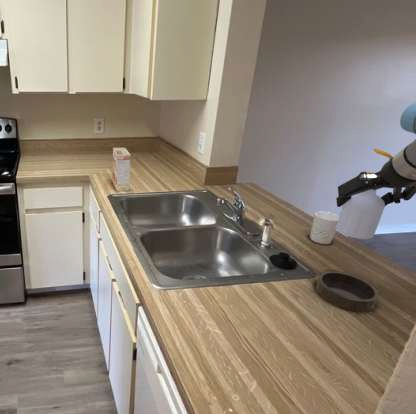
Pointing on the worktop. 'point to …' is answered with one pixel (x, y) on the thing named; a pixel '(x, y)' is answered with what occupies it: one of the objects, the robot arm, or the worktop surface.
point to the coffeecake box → (121, 169)
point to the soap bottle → (362, 212)
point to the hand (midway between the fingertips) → (357, 204)
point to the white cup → (323, 227)
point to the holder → (347, 291)
